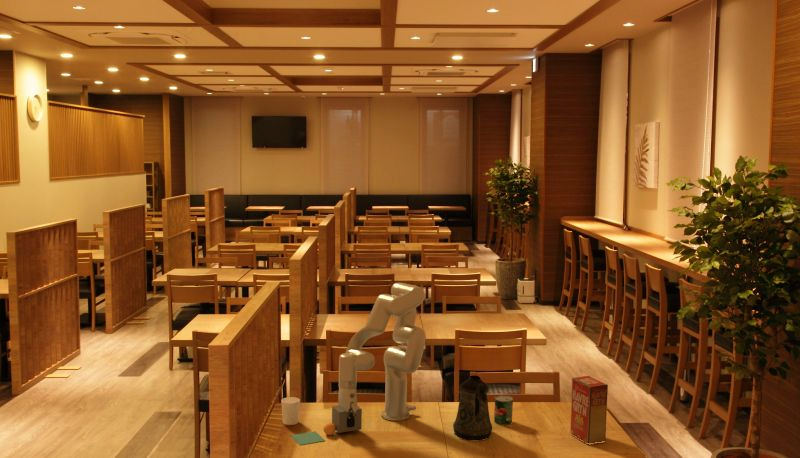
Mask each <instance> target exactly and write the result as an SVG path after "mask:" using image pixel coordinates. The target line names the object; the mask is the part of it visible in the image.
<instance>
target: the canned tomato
mask: <svg viewBox="0 0 800 458" xmlns="http://www.w3.org/2000/svg"><path fill="white" fill-rule="evenodd" d="M513 401H514V398H513V397H512V396H510V395H496V396H495V397H494V414H493V418H494V419H493V422H495V423H496V424H495V423H494V424H495V425H498V424H499V425H498V426H503V425H506V426H510V425H512V424H513V409H514V408H513V406H514V405H513V404H514V402H513ZM511 423H512V424H511ZM509 424H510V425H509Z"/></svg>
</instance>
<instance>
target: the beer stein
mask: <svg viewBox="0 0 800 458" xmlns="http://www.w3.org/2000/svg"><path fill="white" fill-rule="evenodd" d="M458 388H459V392H460V396H459V402H458V408H457V411H456V412H457V413H456V418H455V420H454V421H453V424H452V429H453V433H454V436H456V437H457V438H458V437H459V438H458V439H461V438H462V440H464V439H466V440H465V441H470V440H480V441H484V440H483V439H485V440H487V439H489V438H490V437H491V436H492V431H493V425H492V422H491V418H490V412H489V401H488V400H489V399H488V393H489V390H490V388H489V386H488V384H487V383H486V382H484V380H482V379H481V377H480V376H479V375H474V374H473V375H470V376H469V378H467V379H466V380H465V381H463V382H461V384H460V385H459V387H458ZM490 435H491V436H490ZM489 436H490V437H489ZM486 438H487V439H486Z"/></svg>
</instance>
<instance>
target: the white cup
mask: <svg viewBox="0 0 800 458" xmlns="http://www.w3.org/2000/svg"><path fill="white" fill-rule="evenodd" d="M300 399H301V398H298V397H295V396H290V397H289V396H288V397H284V398H282V399H281V400H280V401H281V415H282V423H283V424H284V425H286V426H292V425H297V424H298V423H299V418H300V417H299V416H300V407H301V406H300V405H301V404H300V403H301V402H300V401H301V400H300Z"/></svg>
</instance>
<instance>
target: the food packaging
mask: <svg viewBox="0 0 800 458" xmlns="http://www.w3.org/2000/svg"><path fill="white" fill-rule="evenodd" d="M571 380H572V382H571V408H570V409H571V412H570V428H569V430H570V431H569V432H570V433H571V434H572V435H574V436H576V437H577V438H579V439H581V440H583V441H584V442H586V443H595V442H602V441H605V442H606V432H607V427H606V426H607V408H608V393H609V392H608V390H609V385H608V383H605V382H603V381H600V380H598V379H596V378H594V377H592V376H590V375H582V376H578V377H577V376H576V377H572V378H571ZM572 435H571V436H572ZM574 436H573V437H574ZM577 438H576V439H577Z"/></svg>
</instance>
